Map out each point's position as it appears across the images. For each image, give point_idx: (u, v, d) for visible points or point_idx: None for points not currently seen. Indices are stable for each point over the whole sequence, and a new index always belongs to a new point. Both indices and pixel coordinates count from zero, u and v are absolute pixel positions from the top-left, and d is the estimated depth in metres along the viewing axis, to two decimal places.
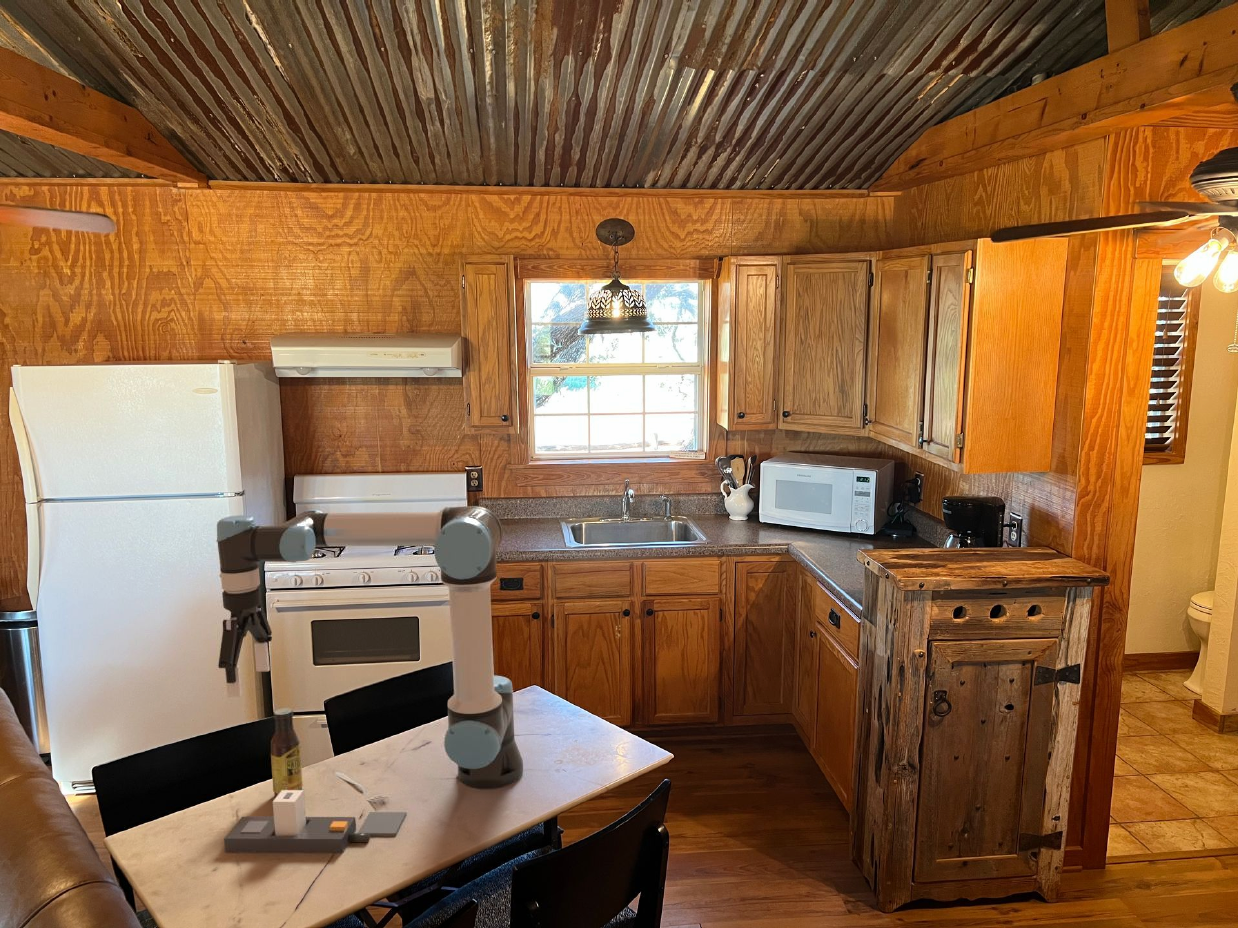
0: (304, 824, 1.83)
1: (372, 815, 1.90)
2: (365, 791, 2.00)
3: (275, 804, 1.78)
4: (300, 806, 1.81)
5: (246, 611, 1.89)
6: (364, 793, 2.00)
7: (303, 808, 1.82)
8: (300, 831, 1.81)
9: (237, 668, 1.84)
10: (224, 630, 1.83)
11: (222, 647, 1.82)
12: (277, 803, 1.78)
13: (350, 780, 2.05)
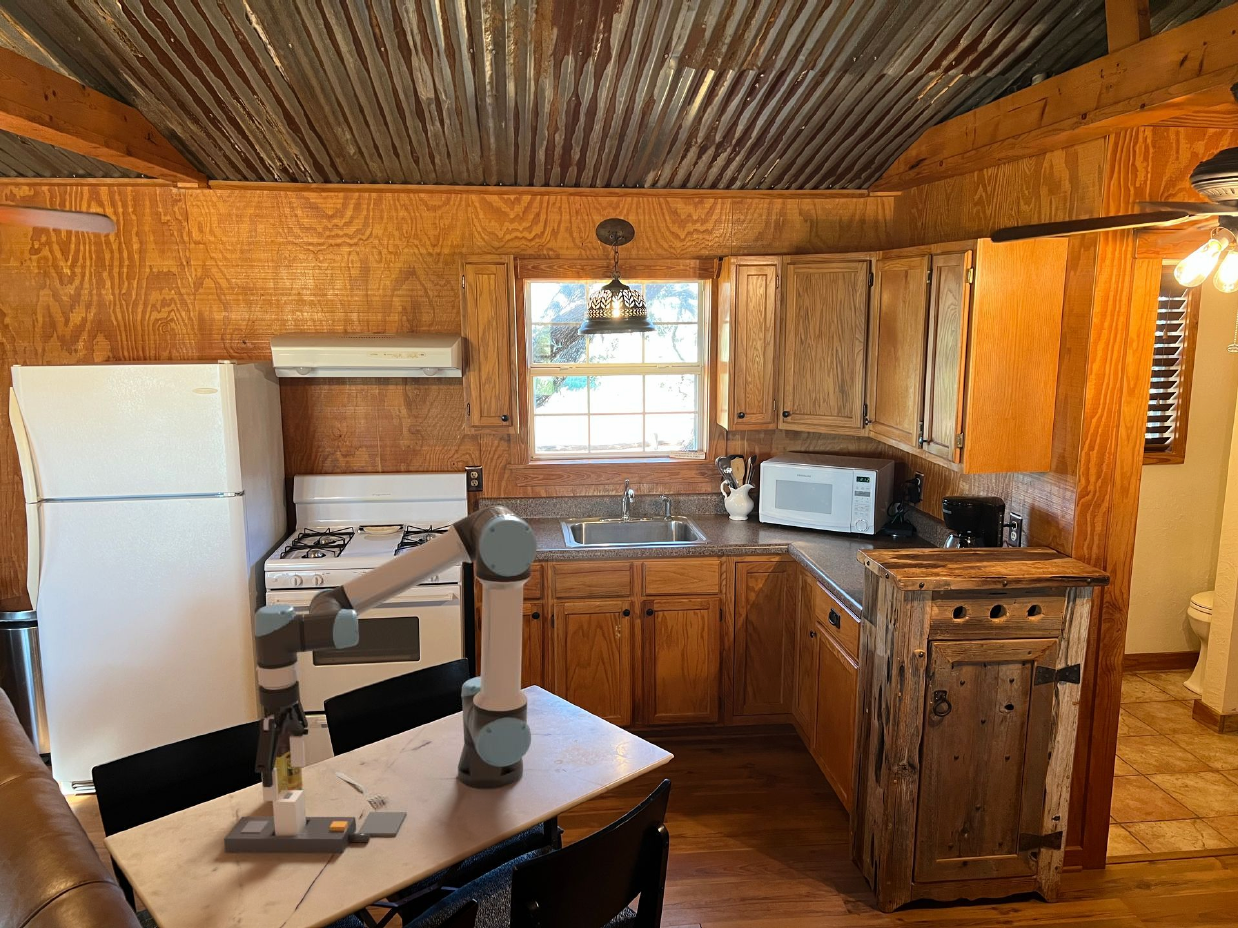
0: (304, 824, 1.83)
1: (372, 815, 1.90)
2: (365, 791, 2.00)
3: (275, 804, 1.78)
4: (300, 806, 1.81)
5: (284, 707, 1.76)
6: (364, 793, 2.00)
7: (303, 808, 1.82)
8: (300, 831, 1.81)
9: (274, 771, 1.72)
10: (261, 731, 1.71)
11: (259, 749, 1.70)
12: (277, 803, 1.78)
13: (350, 780, 2.05)
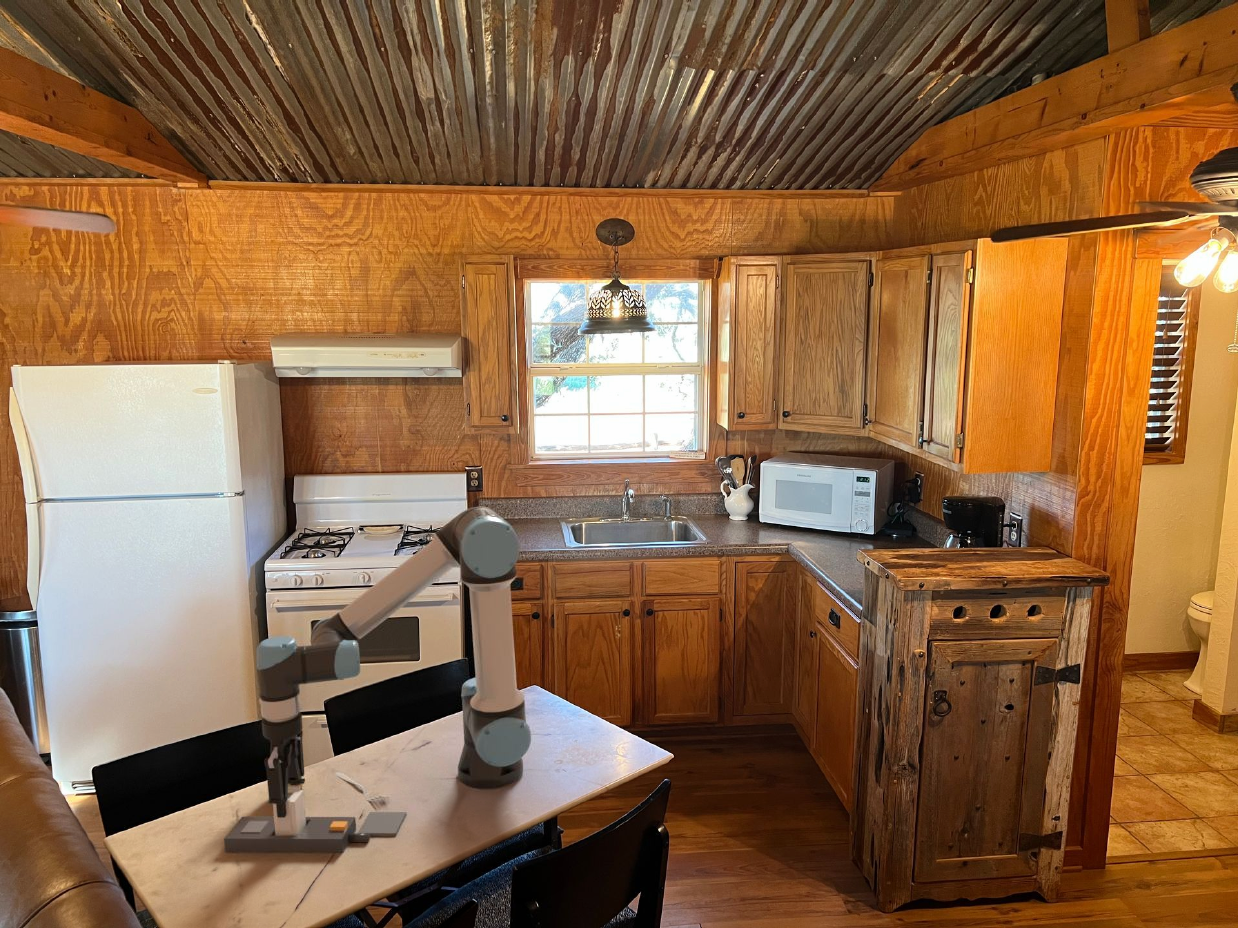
0: (304, 824, 1.83)
1: (372, 815, 1.90)
2: (365, 791, 2.00)
3: (275, 804, 1.78)
4: (300, 806, 1.81)
5: (287, 739, 1.78)
6: (364, 793, 2.00)
7: (302, 808, 1.82)
8: (300, 831, 1.81)
9: (288, 801, 1.77)
10: (267, 769, 1.73)
11: (269, 785, 1.74)
12: None
13: (350, 780, 2.05)
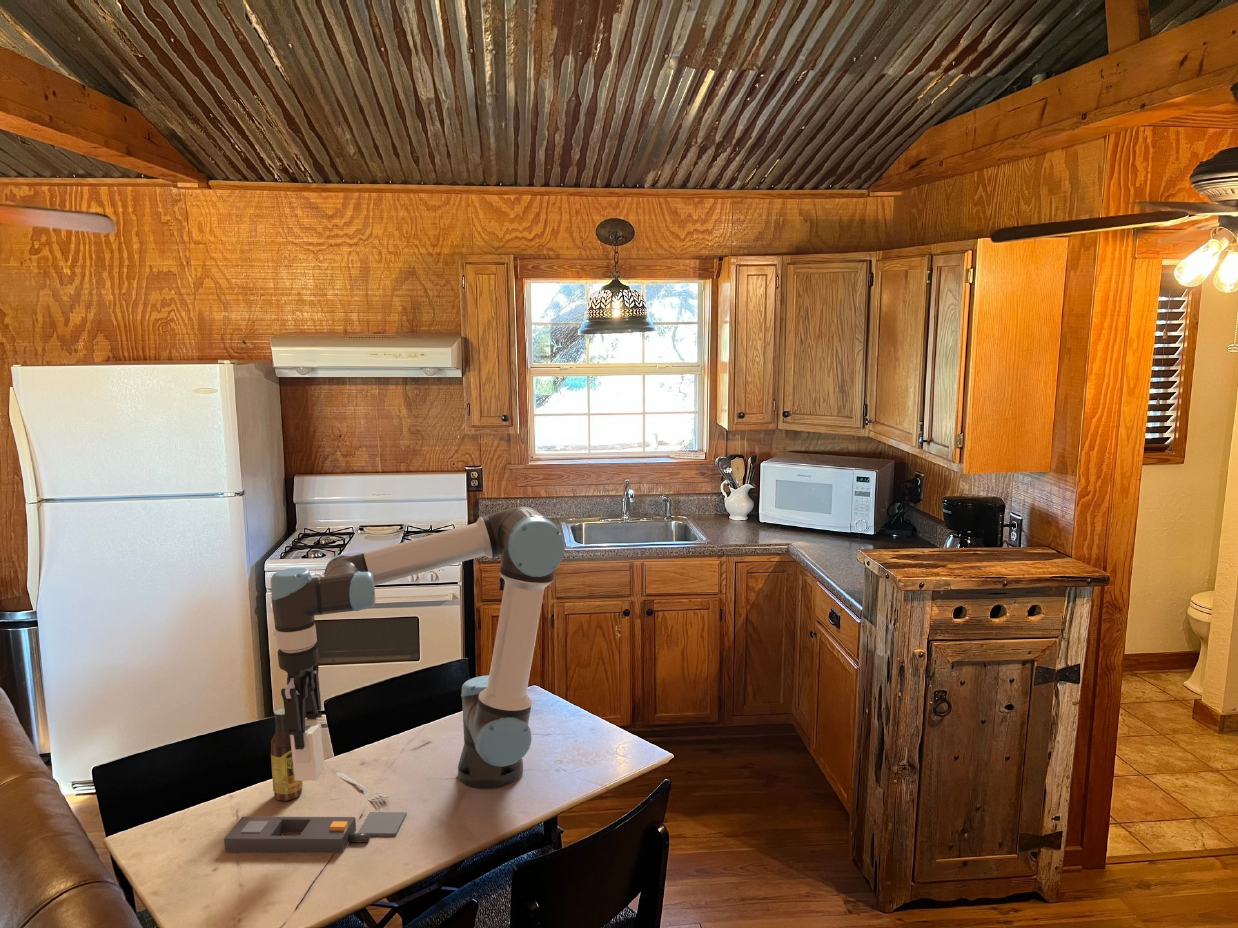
0: (322, 758, 1.82)
1: (372, 815, 1.90)
2: (366, 791, 2.00)
3: (292, 736, 1.77)
4: (317, 739, 1.80)
5: (303, 670, 1.77)
6: (365, 793, 2.00)
7: (320, 742, 1.81)
8: (318, 764, 1.80)
9: (305, 733, 1.76)
10: (284, 700, 1.72)
11: (287, 716, 1.73)
12: None
13: (351, 780, 2.05)
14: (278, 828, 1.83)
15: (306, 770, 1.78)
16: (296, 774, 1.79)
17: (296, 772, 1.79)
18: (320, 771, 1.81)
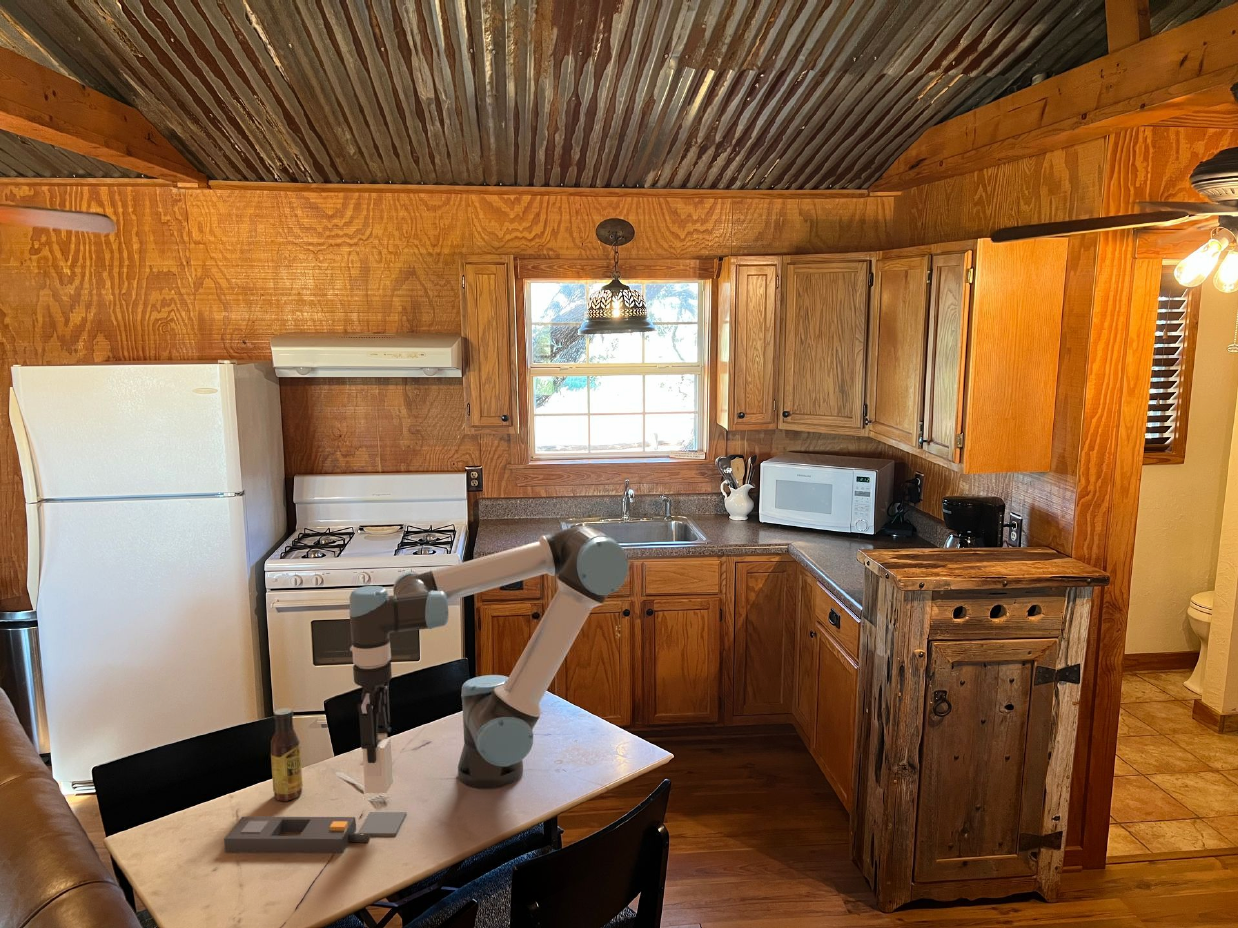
0: (391, 771, 1.87)
1: (372, 815, 1.90)
2: None
3: (365, 750, 1.82)
4: (388, 753, 1.85)
5: (377, 686, 1.81)
6: (365, 793, 2.00)
7: (390, 755, 1.86)
8: (388, 777, 1.85)
9: (378, 747, 1.81)
10: (360, 714, 1.77)
11: (362, 730, 1.77)
12: None
13: (351, 780, 2.05)
14: (278, 828, 1.83)
15: (376, 782, 1.83)
16: (366, 786, 1.83)
17: (367, 785, 1.83)
18: (389, 784, 1.86)
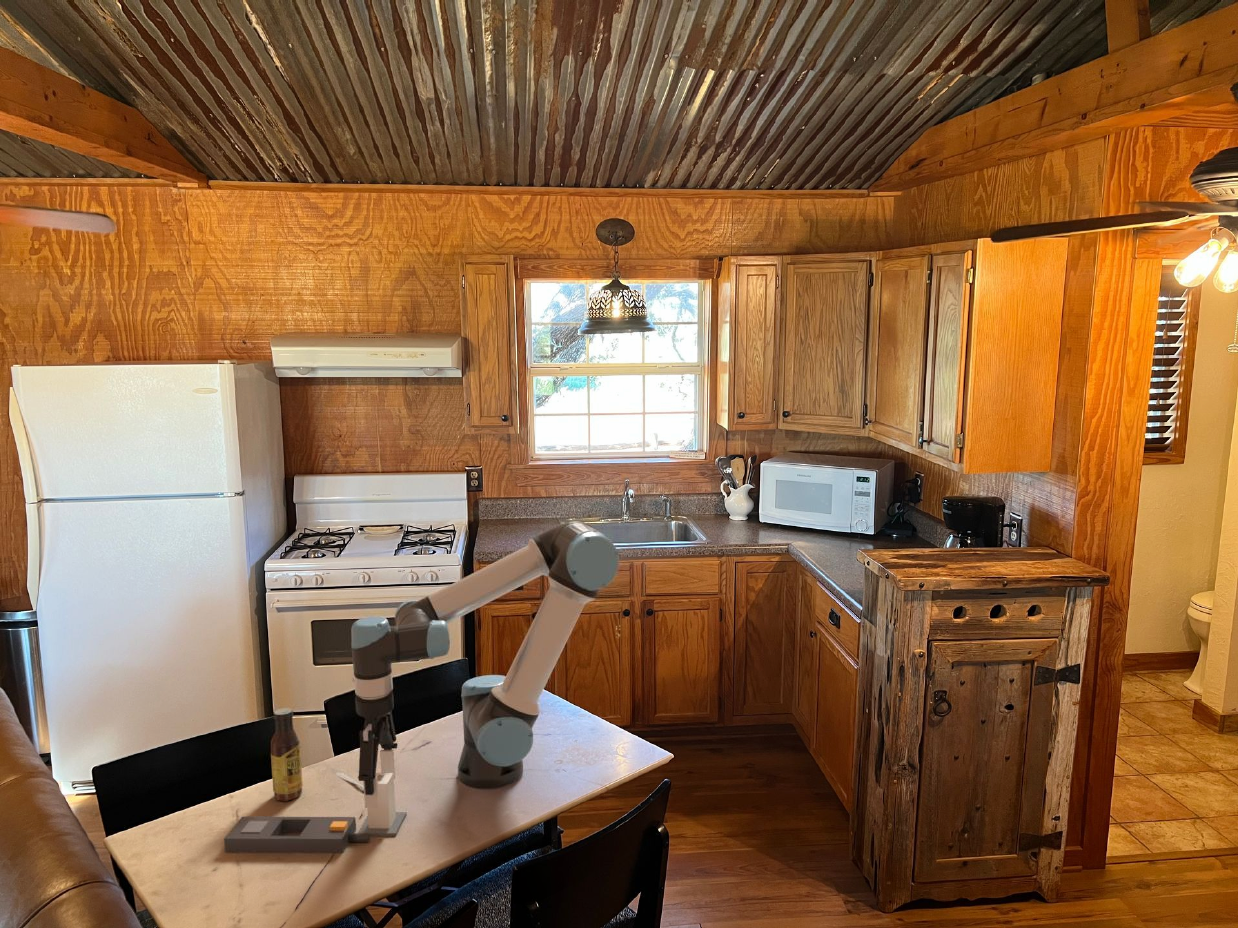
0: (394, 806, 1.88)
1: None
2: None
3: None
4: (391, 788, 1.86)
5: (379, 716, 1.82)
6: None
7: (393, 790, 1.87)
8: (391, 812, 1.86)
9: (375, 779, 1.79)
10: (361, 742, 1.77)
11: (361, 759, 1.77)
12: None
13: (351, 780, 2.05)
14: (278, 828, 1.83)
15: (380, 818, 1.84)
16: (370, 822, 1.85)
17: (370, 820, 1.85)
18: (392, 819, 1.87)
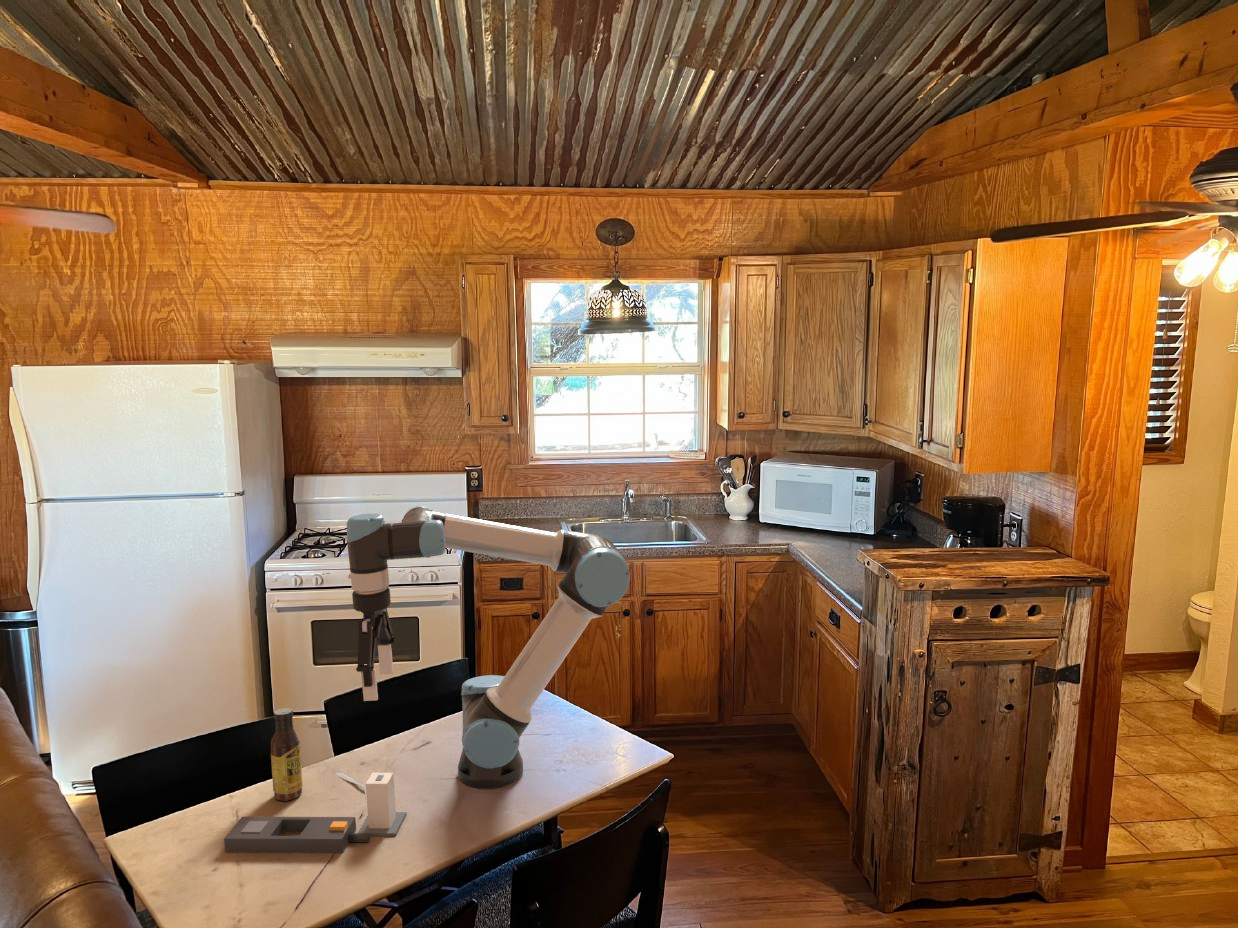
0: (394, 806, 1.88)
1: None
2: None
3: (368, 786, 1.83)
4: (391, 788, 1.86)
5: (377, 612, 1.83)
6: None
7: (393, 790, 1.87)
8: (391, 812, 1.86)
9: (374, 671, 1.79)
10: (359, 633, 1.77)
11: (360, 650, 1.76)
12: (370, 785, 1.83)
13: (351, 780, 2.05)
14: (278, 828, 1.83)
15: (380, 818, 1.84)
16: (370, 822, 1.85)
17: (370, 820, 1.85)
18: (392, 819, 1.87)
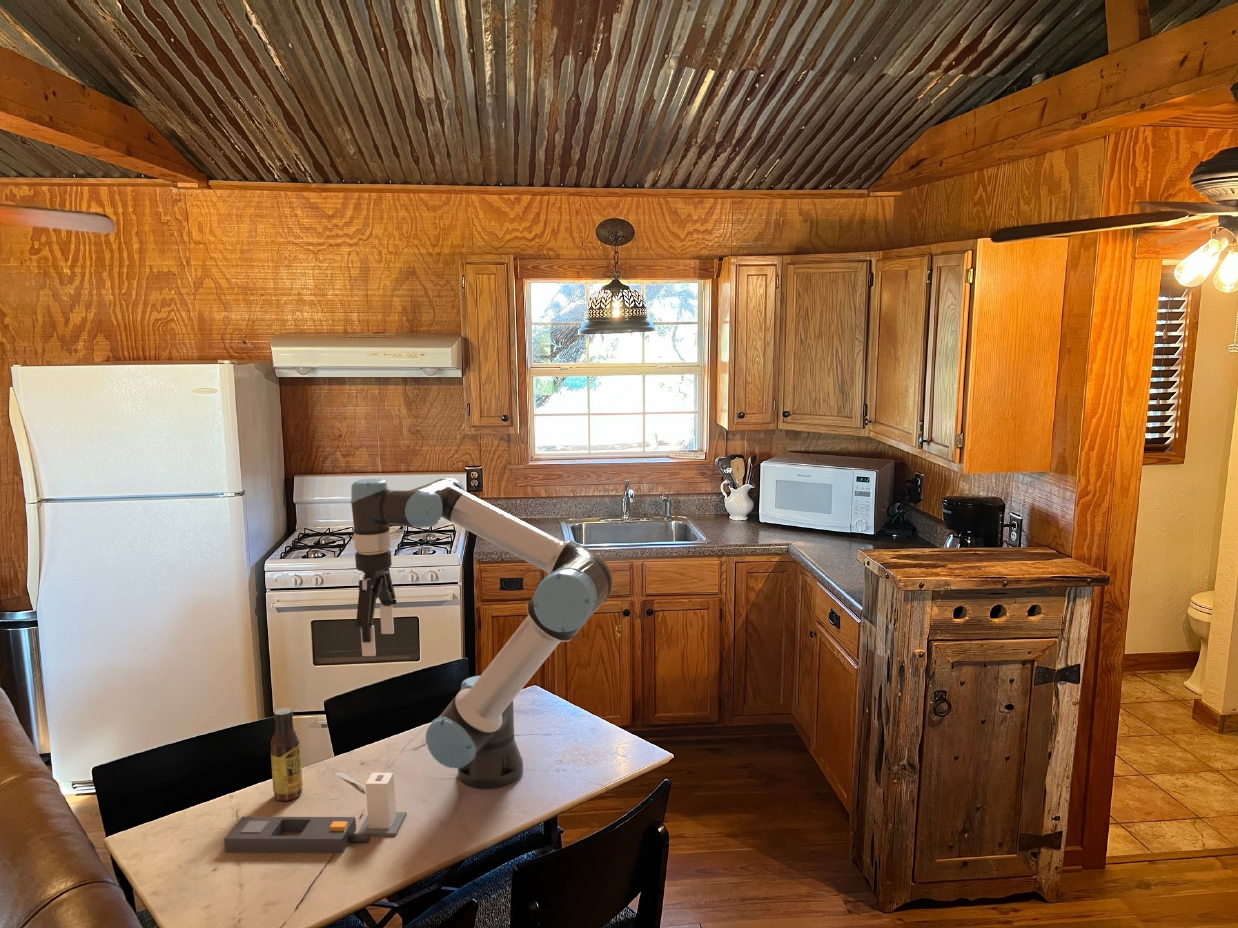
0: (394, 806, 1.88)
1: None
2: None
3: (368, 786, 1.83)
4: (391, 788, 1.86)
5: (378, 573, 1.92)
6: None
7: (393, 790, 1.87)
8: (391, 812, 1.86)
9: (372, 628, 1.88)
10: (360, 591, 1.87)
11: (359, 606, 1.86)
12: (370, 785, 1.83)
13: (351, 780, 2.05)
14: (278, 828, 1.83)
15: (380, 818, 1.84)
16: (370, 822, 1.85)
17: (370, 820, 1.85)
18: (392, 819, 1.87)
